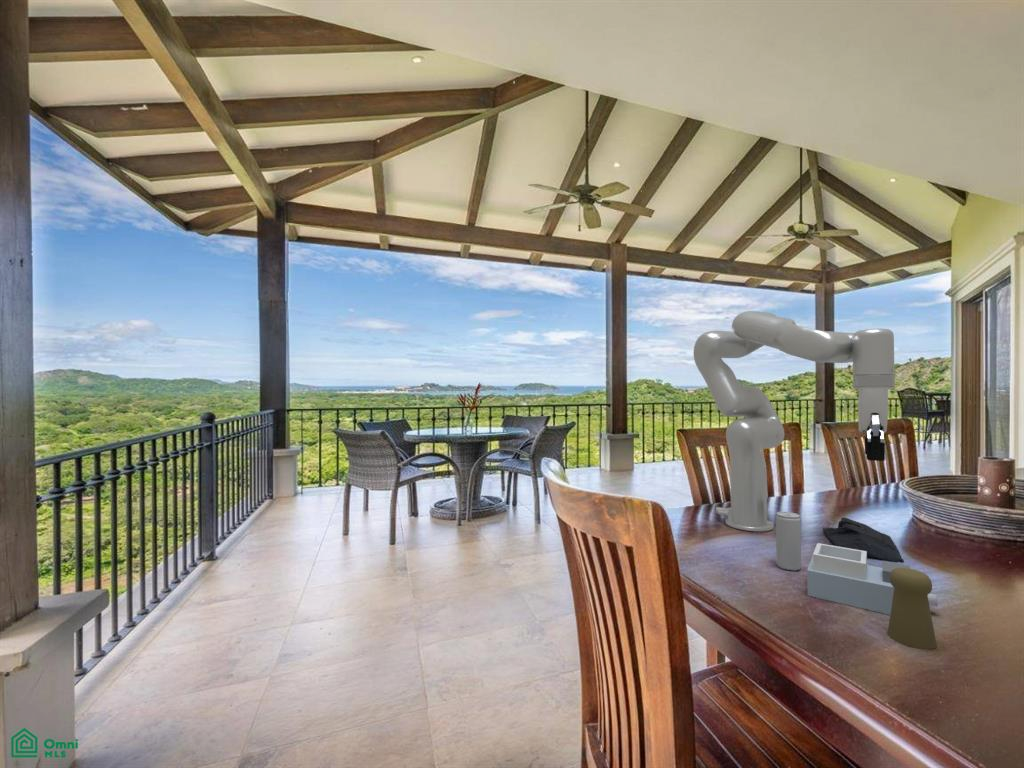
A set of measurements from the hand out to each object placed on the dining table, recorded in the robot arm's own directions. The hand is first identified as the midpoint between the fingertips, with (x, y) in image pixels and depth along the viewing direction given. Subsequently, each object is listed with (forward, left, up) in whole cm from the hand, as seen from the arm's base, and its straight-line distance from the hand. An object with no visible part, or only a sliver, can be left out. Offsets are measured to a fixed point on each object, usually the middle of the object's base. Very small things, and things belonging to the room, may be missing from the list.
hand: (874, 457), depth 106 cm
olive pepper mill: (+5, -36, -25) cm, 44 cm away
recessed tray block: (-1, -23, -24) cm, 34 cm away
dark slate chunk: (-3, +13, -25) cm, 29 cm away
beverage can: (-15, -14, -25) cm, 32 cm away
